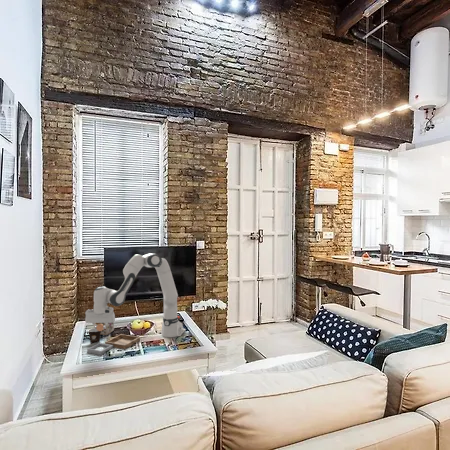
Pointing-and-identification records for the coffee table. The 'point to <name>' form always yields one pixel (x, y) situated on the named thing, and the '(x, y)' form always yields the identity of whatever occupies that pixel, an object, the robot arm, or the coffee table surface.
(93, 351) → the tray
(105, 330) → the decorative jar
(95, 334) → the coffee mug
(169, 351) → the coffee table surface
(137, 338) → the brown wooden tray
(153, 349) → the coffee table surface
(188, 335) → the coffee table surface
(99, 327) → the ball
